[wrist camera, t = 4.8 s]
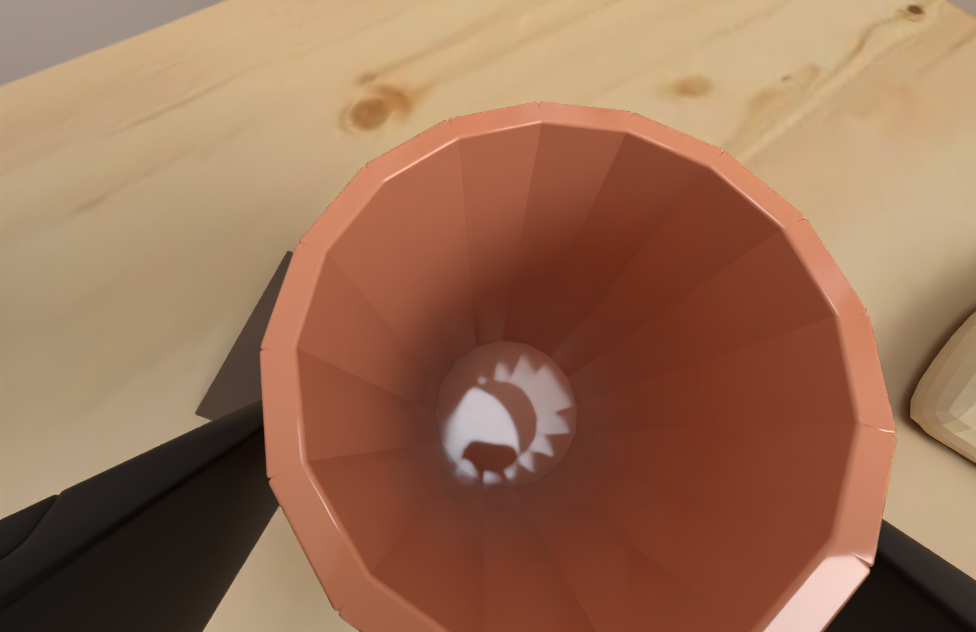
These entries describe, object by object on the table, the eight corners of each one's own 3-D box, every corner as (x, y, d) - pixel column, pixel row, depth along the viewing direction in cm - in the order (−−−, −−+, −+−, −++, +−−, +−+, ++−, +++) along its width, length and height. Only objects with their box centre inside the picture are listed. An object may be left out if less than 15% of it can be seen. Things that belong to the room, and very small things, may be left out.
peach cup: (613, 424, 16) (1019, 388, 4) (492, 531, 14) (535, 1005, 2) (517, 310, 17) (589, 38, 5) (400, 395, 16) (159, 277, 4)
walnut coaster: (444, 300, 17) (443, 297, 17) (376, 477, 15) (373, 478, 14) (291, 254, 18) (287, 250, 18) (200, 414, 16) (193, 414, 15)
